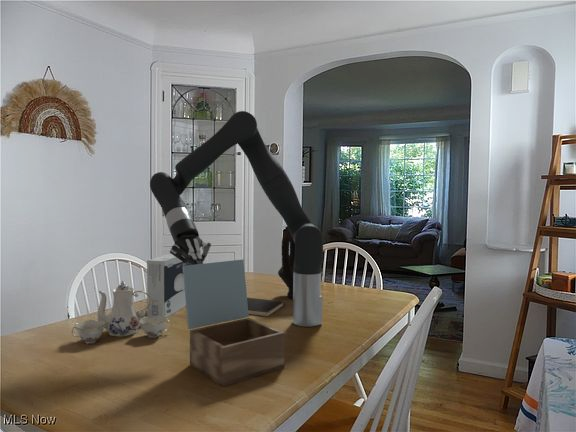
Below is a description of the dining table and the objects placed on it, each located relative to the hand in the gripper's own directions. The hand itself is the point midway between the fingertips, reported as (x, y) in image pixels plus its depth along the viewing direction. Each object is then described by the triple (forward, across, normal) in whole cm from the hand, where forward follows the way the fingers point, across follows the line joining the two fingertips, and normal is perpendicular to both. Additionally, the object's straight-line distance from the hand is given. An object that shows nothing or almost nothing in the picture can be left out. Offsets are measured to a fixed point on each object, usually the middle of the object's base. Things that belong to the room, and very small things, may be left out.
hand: (201, 272), depth 128 cm
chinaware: (-1, -14, +31) cm, 34 cm away
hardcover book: (-3, +34, +34) cm, 48 cm away
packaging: (-15, +12, +45) cm, 49 cm away
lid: (+9, 0, -4) cm, 10 cm away
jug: (-4, +60, +35) cm, 69 cm away
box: (+28, 0, +2) cm, 28 cm away
